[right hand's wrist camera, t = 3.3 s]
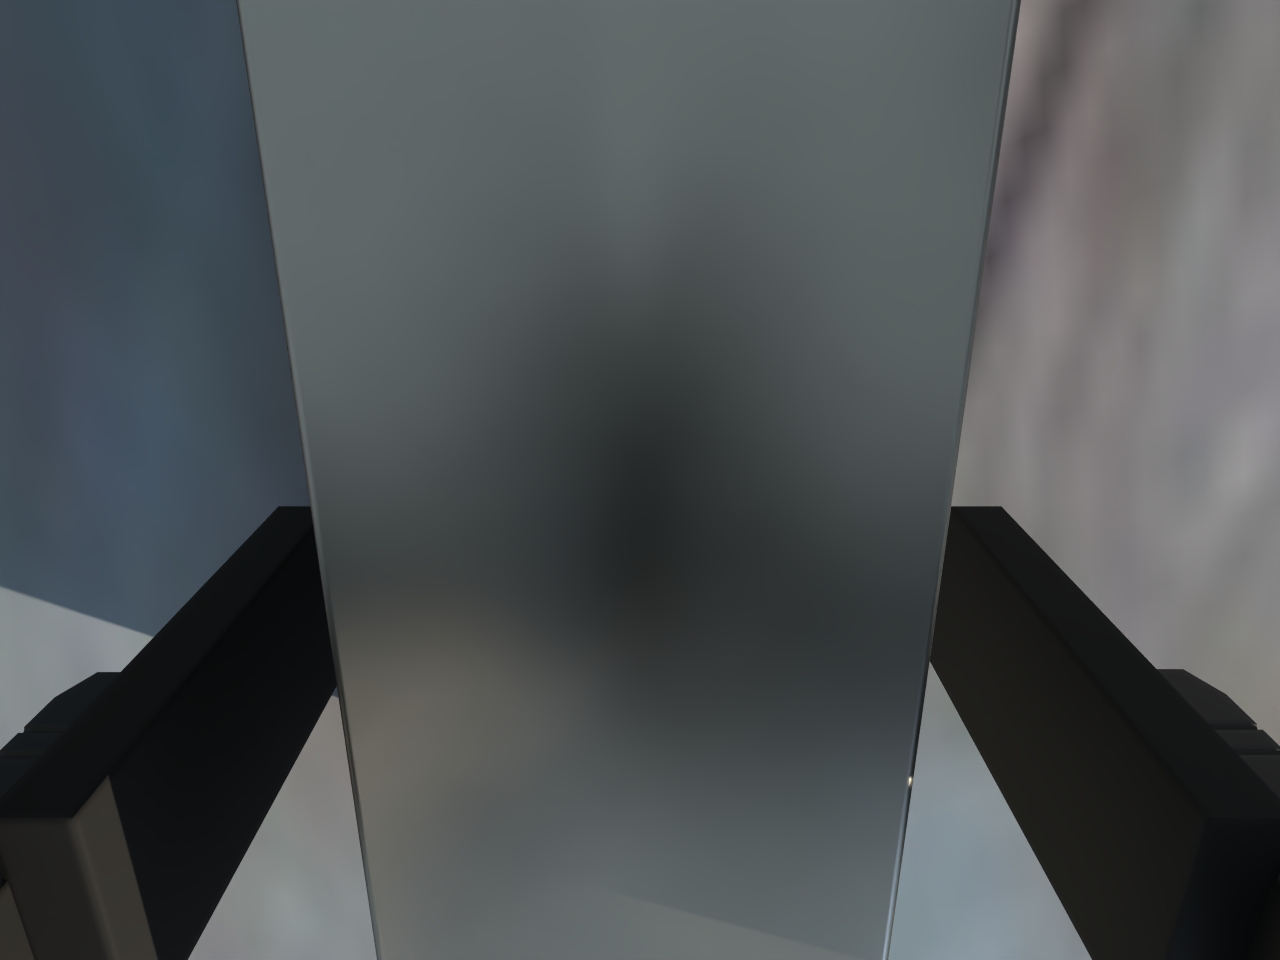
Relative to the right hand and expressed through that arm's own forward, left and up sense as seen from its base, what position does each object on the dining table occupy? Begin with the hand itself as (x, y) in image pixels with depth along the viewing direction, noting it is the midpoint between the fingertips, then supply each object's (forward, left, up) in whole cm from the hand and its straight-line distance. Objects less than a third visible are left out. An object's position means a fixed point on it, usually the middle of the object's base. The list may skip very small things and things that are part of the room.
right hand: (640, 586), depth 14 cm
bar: (+2, +8, -1) cm, 8 cm away
